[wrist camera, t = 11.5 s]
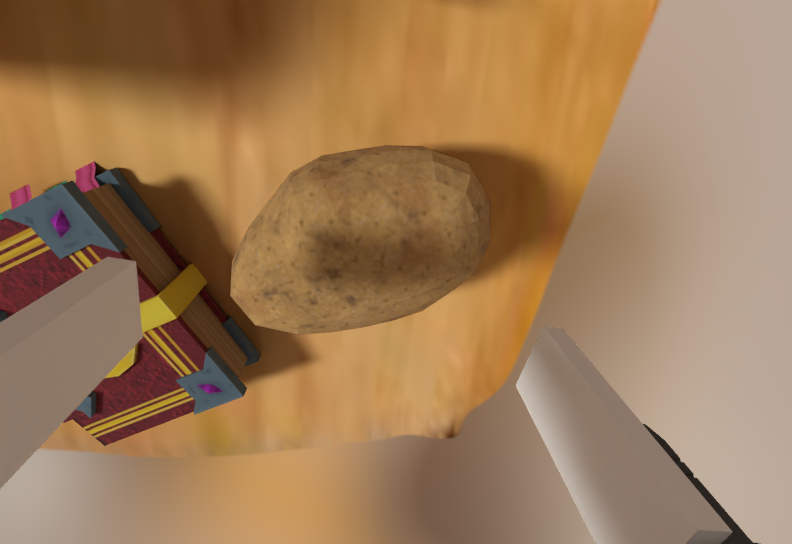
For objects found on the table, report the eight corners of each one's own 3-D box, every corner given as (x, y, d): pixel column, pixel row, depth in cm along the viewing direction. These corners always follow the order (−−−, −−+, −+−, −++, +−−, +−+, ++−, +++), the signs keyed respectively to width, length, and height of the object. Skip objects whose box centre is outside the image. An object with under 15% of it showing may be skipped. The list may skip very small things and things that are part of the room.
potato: (219, 193, 22) (147, 242, 15) (439, 97, 20) (477, 100, 13) (298, 317, 26) (271, 402, 19) (484, 245, 25) (532, 309, 17)
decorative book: (138, 401, 29) (96, 457, 24) (-47, 225, 22) (-154, 259, 17) (263, 351, 28) (242, 401, 23) (107, 146, 21) (34, 162, 16)
